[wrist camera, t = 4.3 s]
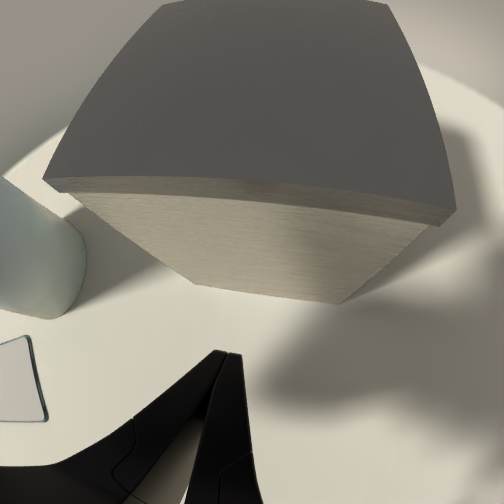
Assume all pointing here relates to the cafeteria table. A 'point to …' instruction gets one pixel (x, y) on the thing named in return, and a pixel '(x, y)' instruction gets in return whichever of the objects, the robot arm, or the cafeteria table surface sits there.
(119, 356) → the cafeteria table surface
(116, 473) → the robot arm
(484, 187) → the cafeteria table surface
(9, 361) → the smartphone
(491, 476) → the cafeteria table surface
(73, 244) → the round-topped grey cylinder
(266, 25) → the tin
